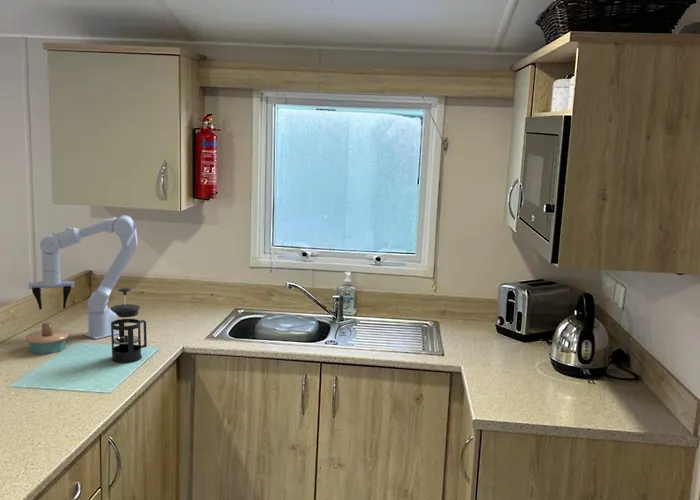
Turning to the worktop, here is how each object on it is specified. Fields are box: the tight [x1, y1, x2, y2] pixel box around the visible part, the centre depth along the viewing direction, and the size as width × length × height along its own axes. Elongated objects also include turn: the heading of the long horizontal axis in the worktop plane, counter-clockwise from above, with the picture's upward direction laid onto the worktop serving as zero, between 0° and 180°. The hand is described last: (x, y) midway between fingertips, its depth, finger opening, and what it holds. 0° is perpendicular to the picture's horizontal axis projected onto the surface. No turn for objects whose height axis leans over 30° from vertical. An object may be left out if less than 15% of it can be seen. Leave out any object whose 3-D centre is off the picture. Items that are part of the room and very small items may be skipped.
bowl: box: [28, 339, 66, 355], centre depth 232 cm, size 11×11×4 cm
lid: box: [25, 321, 70, 343], centre depth 231 cm, size 13×13×5 cm
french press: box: [110, 287, 148, 364], centre depth 223 cm, size 12×9×23 cm
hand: (52, 308), depth 243 cm, fingers open, 7 cm apart
